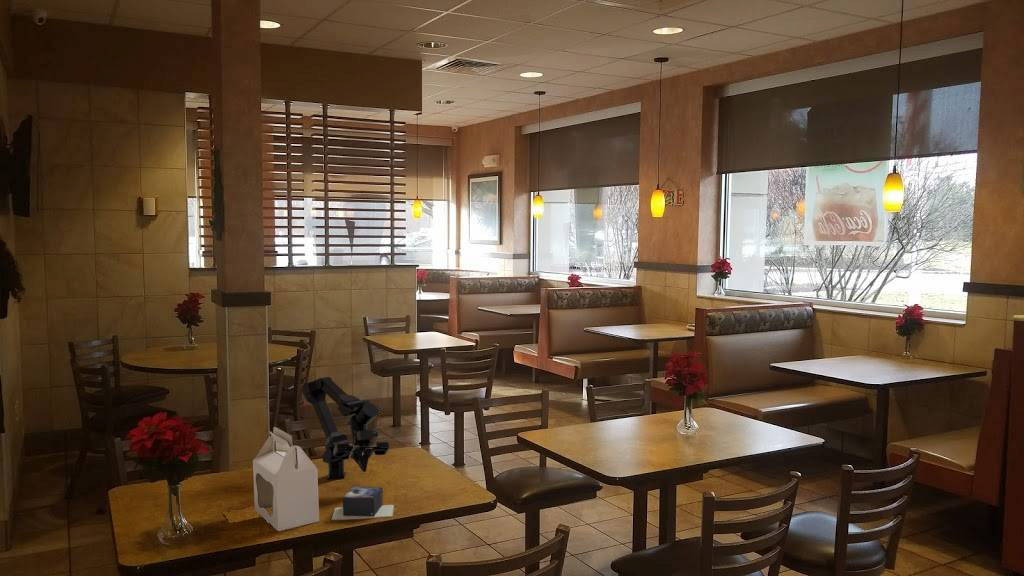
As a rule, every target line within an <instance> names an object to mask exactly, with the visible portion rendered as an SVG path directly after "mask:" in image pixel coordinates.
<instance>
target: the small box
mask: <svg viewBox="0 0 1024 576" xmlns="http://www.w3.org/2000/svg"><path fill="white" fill-rule="evenodd" d="M383 497H384V491H383V487H381V486H352V487H351V488H350V489H349V490H348V491H347V493H346V494H345V495H343V497H342V507H343V515H345V516H375V514H376V513H377V512H378V510H379V509H380V507H381V506H382V505H384V500H383V499H384V498H383Z"/></svg>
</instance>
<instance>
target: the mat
mask: <svg viewBox="0 0 1024 576" xmlns="http://www.w3.org/2000/svg"><path fill="white" fill-rule="evenodd" d="M394 506H395V505H394V504H383V505H382V506H381V507H380V509H379V510H378V512H377V513H376V514H375V516H345V515H343V506H342V507H335V508H334V511H333V514H332V517H331V521H344V520H362V519H378V518H379V519H380V518H393V516H394V515H393V514H394V508H395V507H394Z"/></svg>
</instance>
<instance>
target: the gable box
mask: <svg viewBox="0 0 1024 576" xmlns="http://www.w3.org/2000/svg"><path fill="white" fill-rule="evenodd" d="M268 433H269V434H270V436H268V437H267V439H266V440H265V441H264V443H263V445H262V447H261V448H260V449H259V451H258V452H257V454H256V455H255V457H254V458H253V459H252V472H253V473H252V475H253V495H254V496H253V500H254V505H255V511H256V512H257V513H258V514H259V515H260V516H262V517H263V518H264V519H265V520H266V521H265V520H264V519H263V518H262V517H261V518H262V519H263V520H264V521H265V522H266V523H268V524H269V523H270V524H271V525H272V526H273V527H272V526H271V525H270V524H269V525H270V526H271V527H272V528H274V530H276V531H277V532H278V531H279V532H281V531H282V530H283V531H286V529H287V530H290V529H294V528H298V527H302V526H307V525H309V524H310V525H311V524H315V523H318V522H319V521H320V506H319V483H318V479H319V478H318V467H317V466H316V465H315V464H314V462H312V460H311V459H310V458H309V457H308V455H307V454H306V452H305V451H304V450H303V448H302V447H300V446H298V445H295V441H294V436H293V435H292V434H290V433H288V432H286V431H284V430H282V429H281V428H279V427H277V426H274V427H273V430H272V431H271V430H269V431H268ZM271 507H272V508H273V509H271V510H273V511H272V512H273V514H270V513H269V511H268V510H267V509H266V508H271ZM283 531H282V532H283Z"/></svg>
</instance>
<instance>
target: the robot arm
mask: <svg viewBox="0 0 1024 576" xmlns="http://www.w3.org/2000/svg"><path fill="white" fill-rule="evenodd" d="M301 394H302V395H303V397H304V398H305V401H307V402H308V403H309V404H311V405H312V407H313V409H314V411H315V414H316V416H317V419H318V421H319V423H320V426H321V429H322V431H323V434H324V435H325V439H326V440H325V445H324V447H325V451H324V452H323V454H322V456H321V458H322V462H323V463H325V464H327V465H328V467H327V470H328V473H327V476H326V480H339V479H341V480H342V479H345V478H346V476H347V472H346V471H345V461H346V460H349V459H353V461H354V462H355V463H356V464H357V465H358V466H359V469H360V470H361V471H362V472H363V473H365V472H366V471H367V468H368V462H369V459H370V458H371V457H372V455H373V453H374V455H376V456H385V455H386V454H387V452H388V451H389V449H390V443H389V442H388V441H386V440H385V441H383V440H380V441H377V442H376V443H375V445H373V444H372V445H371V443H372V441H374V439H376V438H378V437H379V431H378V428H377V427H376V428H375V427H374V428H373V427H372V428H371V429H370V430H369V429H368V427H367V425H369V424H370V423H371V422H372V421H373V420H374V419H375V417H376V416H377V415H378V413H379V410H378V407H377V406H376V405H375V404H374V403H371V402H370V401H369V400H363V401H361V400H360V398H358V397H356V396H354V395H351V394H348V393H346V392H345V390H343V389H342V388H341V387H340V386H339V385H338V384H337V383H335V381H334V380H333V379H332V377H331V376H325V377H319V378H317V379H315V380H312V381H306V382H304V383H303V385H302V386H301ZM327 396H328V397H329V398H330V399H331V400H332V401H333V402H335V404H336V405H337V410H338V412H340V414H341V415H342V417H349V416H350V418H349V420H348V421H347V425H348V426H349V428H350V440H351V444H352V445H350V442H349V440H348V436H347V435H346V434H345V433H343V434H341V433H340V432H339V429H338V426H337V425H336V422H335V419H334V418H333V415H332V413H331V410H330V407H329V405H328V402H327V401H326V397H327Z"/></svg>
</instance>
